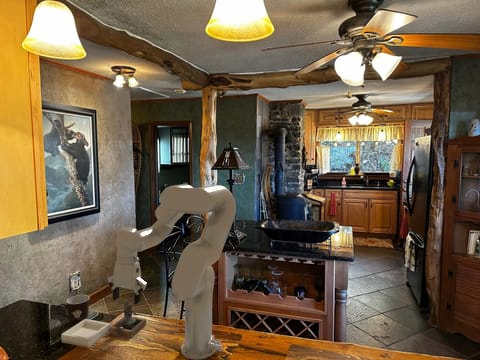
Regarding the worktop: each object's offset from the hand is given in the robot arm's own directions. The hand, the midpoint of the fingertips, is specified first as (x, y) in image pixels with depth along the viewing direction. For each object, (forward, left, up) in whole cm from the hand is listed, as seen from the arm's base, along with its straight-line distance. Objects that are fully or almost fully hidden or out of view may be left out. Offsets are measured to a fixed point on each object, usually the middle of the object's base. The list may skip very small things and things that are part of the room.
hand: (126, 300), depth 129 cm
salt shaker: (-1, 0, -12) cm, 12 cm away
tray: (+11, +9, -12) cm, 19 cm away
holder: (-1, 0, -12) cm, 12 cm away
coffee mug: (+23, +2, -12) cm, 26 cm away
